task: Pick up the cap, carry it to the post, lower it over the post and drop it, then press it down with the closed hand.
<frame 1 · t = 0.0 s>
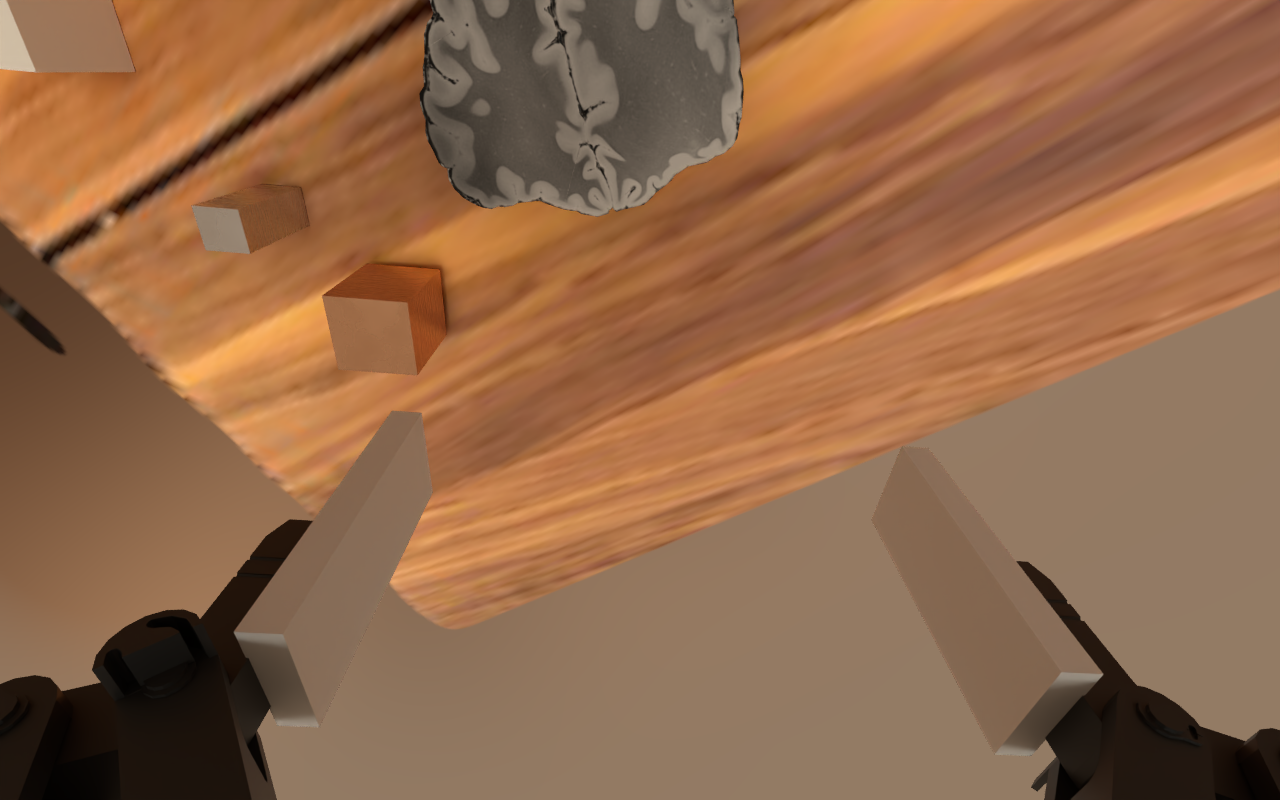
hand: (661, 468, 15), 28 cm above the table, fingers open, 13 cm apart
brain slice: (575, 68, 35), on the table
tan brown block: (412, 295, 42), on the table
cap: (73, 17, 33), on the table
post: (286, 205, 38), on the table
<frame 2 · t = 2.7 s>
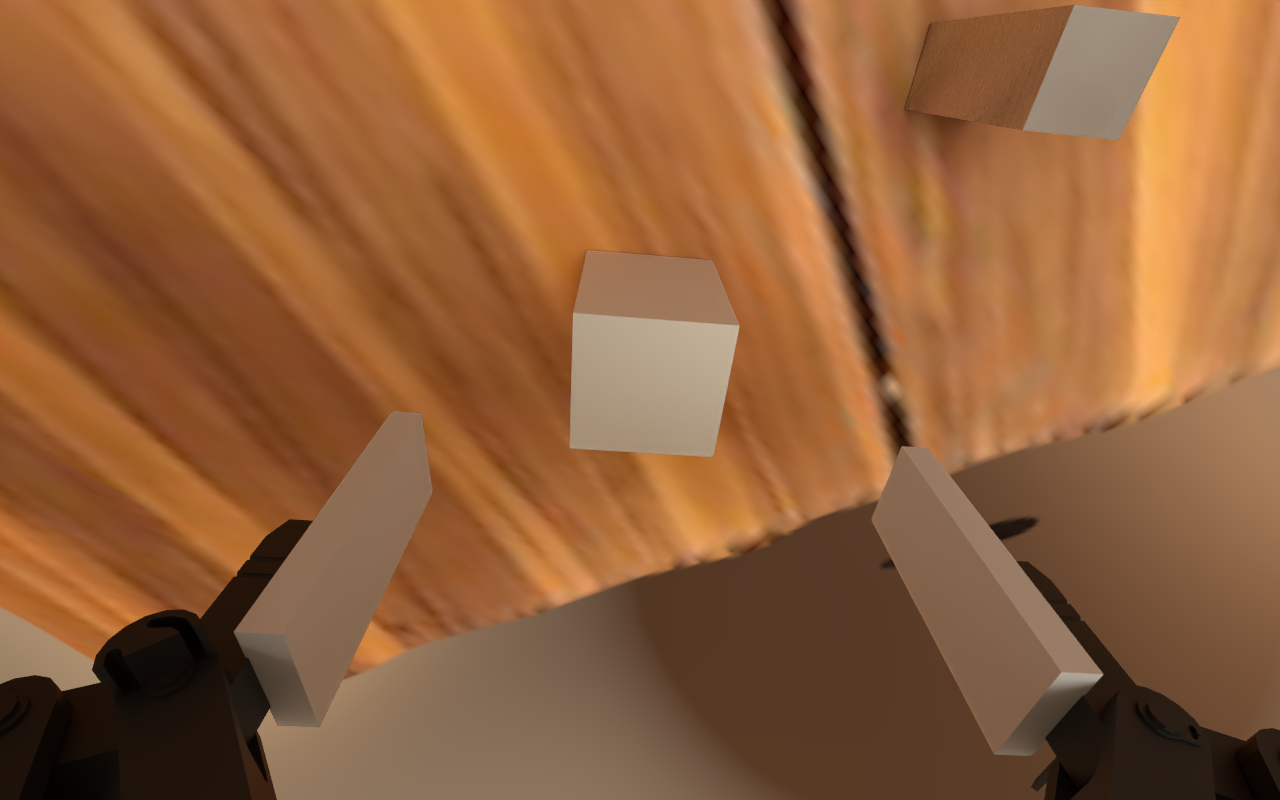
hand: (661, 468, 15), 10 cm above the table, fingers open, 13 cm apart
cap: (644, 313, 24), on the table
post: (952, 71, 19), on the table
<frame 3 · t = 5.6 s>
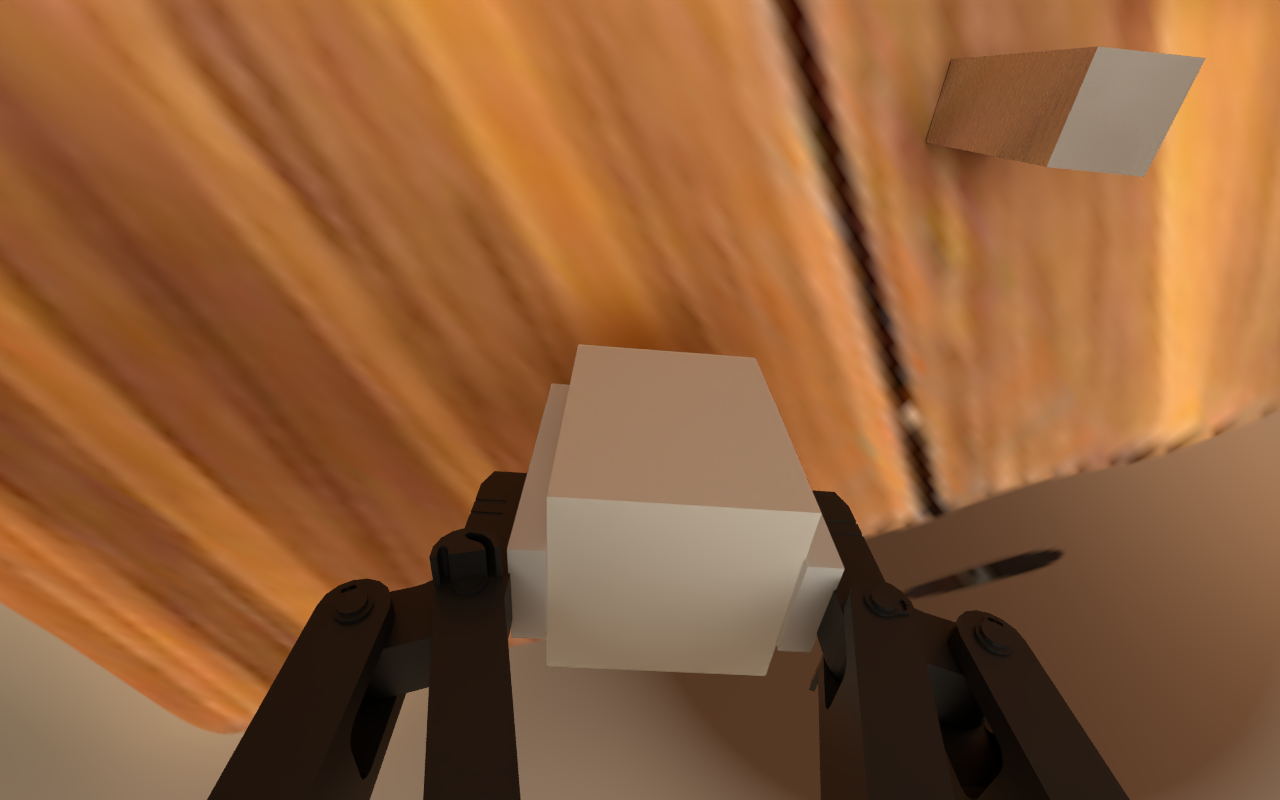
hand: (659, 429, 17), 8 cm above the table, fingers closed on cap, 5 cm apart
cap: (658, 425, 17), point 8 cm above the table, touching gripper
post: (973, 105, 19), on the table
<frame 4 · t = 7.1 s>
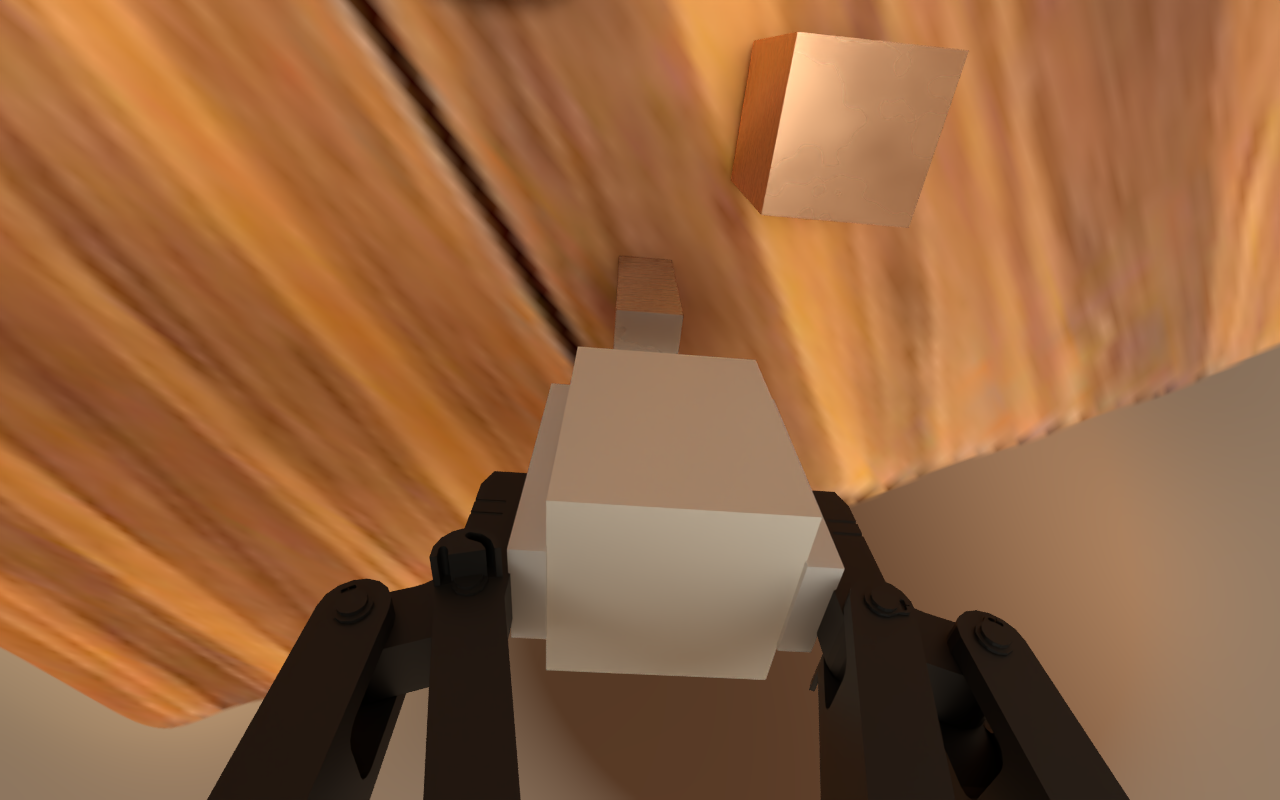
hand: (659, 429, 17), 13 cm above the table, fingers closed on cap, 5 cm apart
tan brown block: (796, 118, 24), on the table
cap: (658, 427, 17), point 13 cm above the table, touching gripper
post: (643, 283, 28), on the table
when the fingers open (2 cm above the table, at t = 9.0 s): cap stays where it is, resting on post.
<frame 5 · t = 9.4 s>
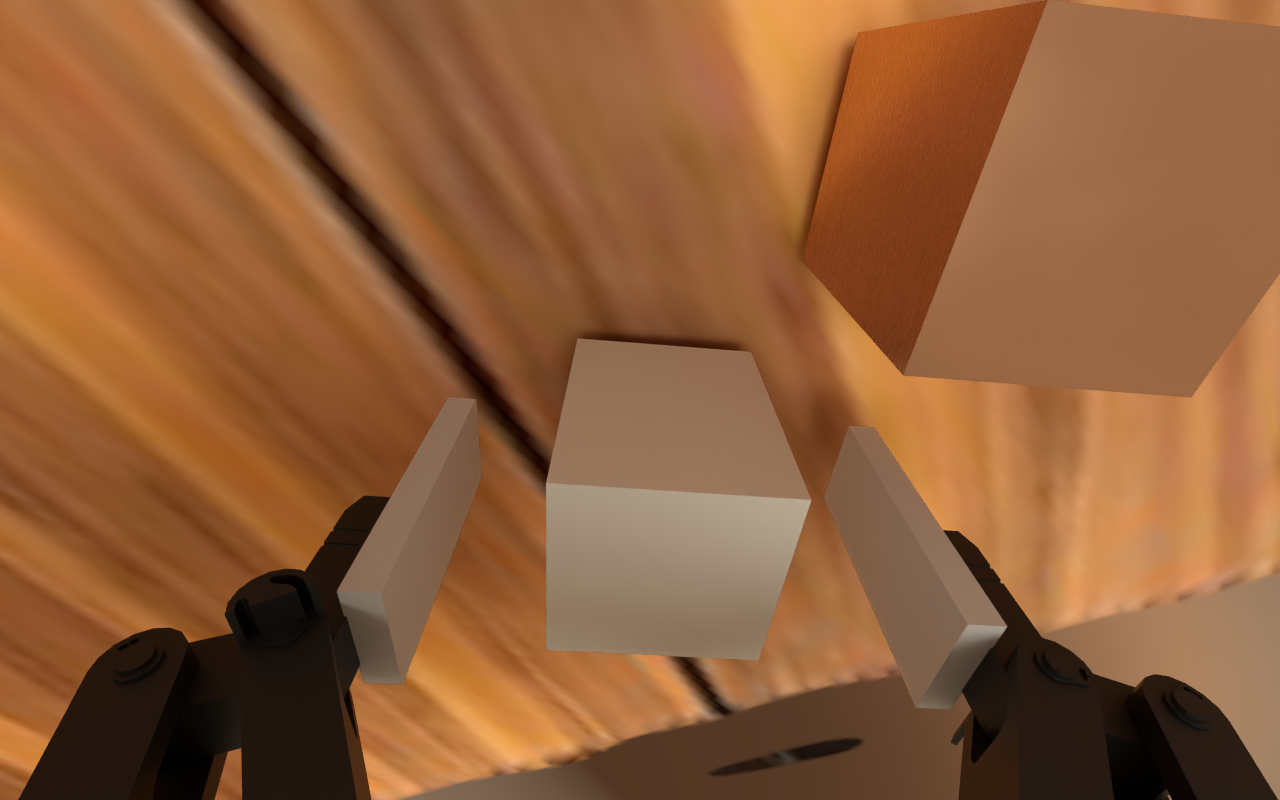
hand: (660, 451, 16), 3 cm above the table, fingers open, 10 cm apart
tan brown block: (911, 161, 15), on the table
cap: (655, 418, 18), point 1 cm above the table, touching post
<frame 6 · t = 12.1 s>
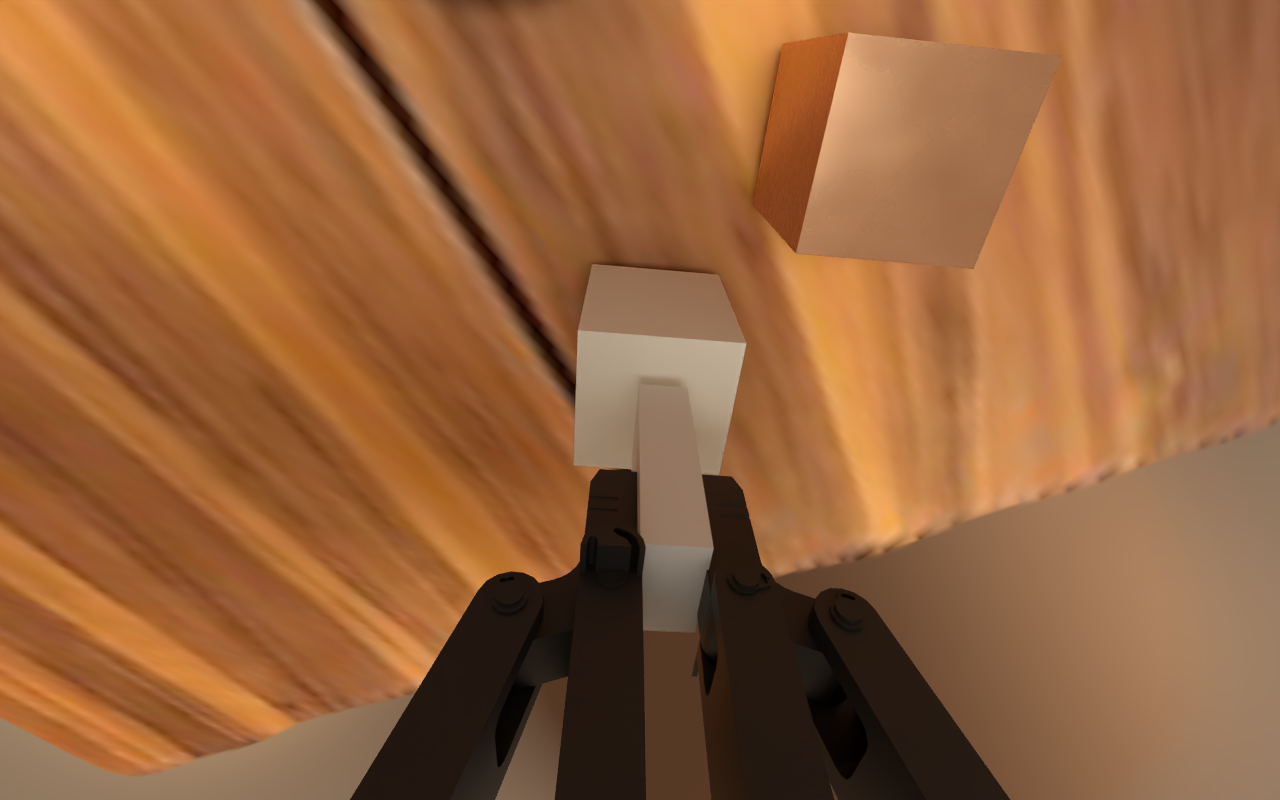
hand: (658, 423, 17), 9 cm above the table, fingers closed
tan brown block: (828, 133, 21), on the table
cap: (649, 327, 24), point 1 cm above the table, touching post
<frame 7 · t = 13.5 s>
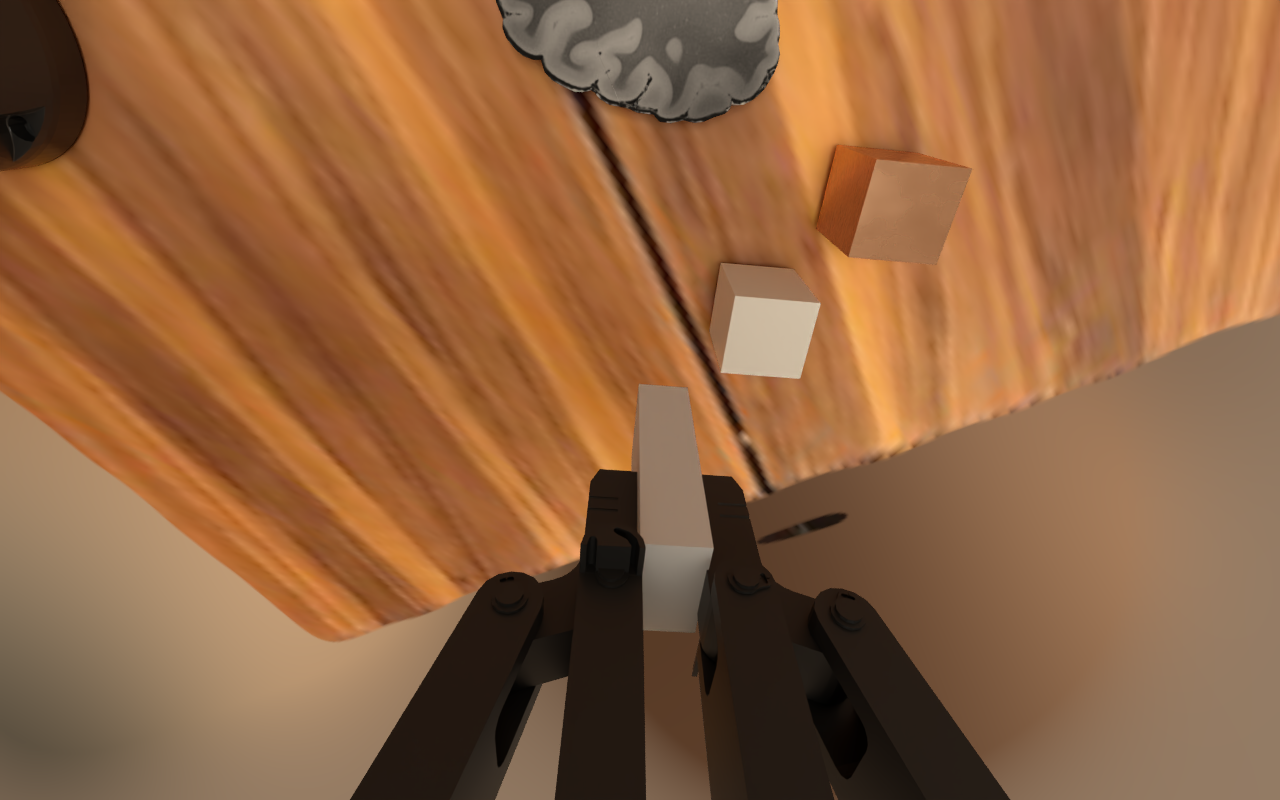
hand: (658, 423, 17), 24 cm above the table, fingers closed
tan brown block: (859, 189, 37), on the table
cap: (750, 300, 40), point 1 cm above the table, touching post
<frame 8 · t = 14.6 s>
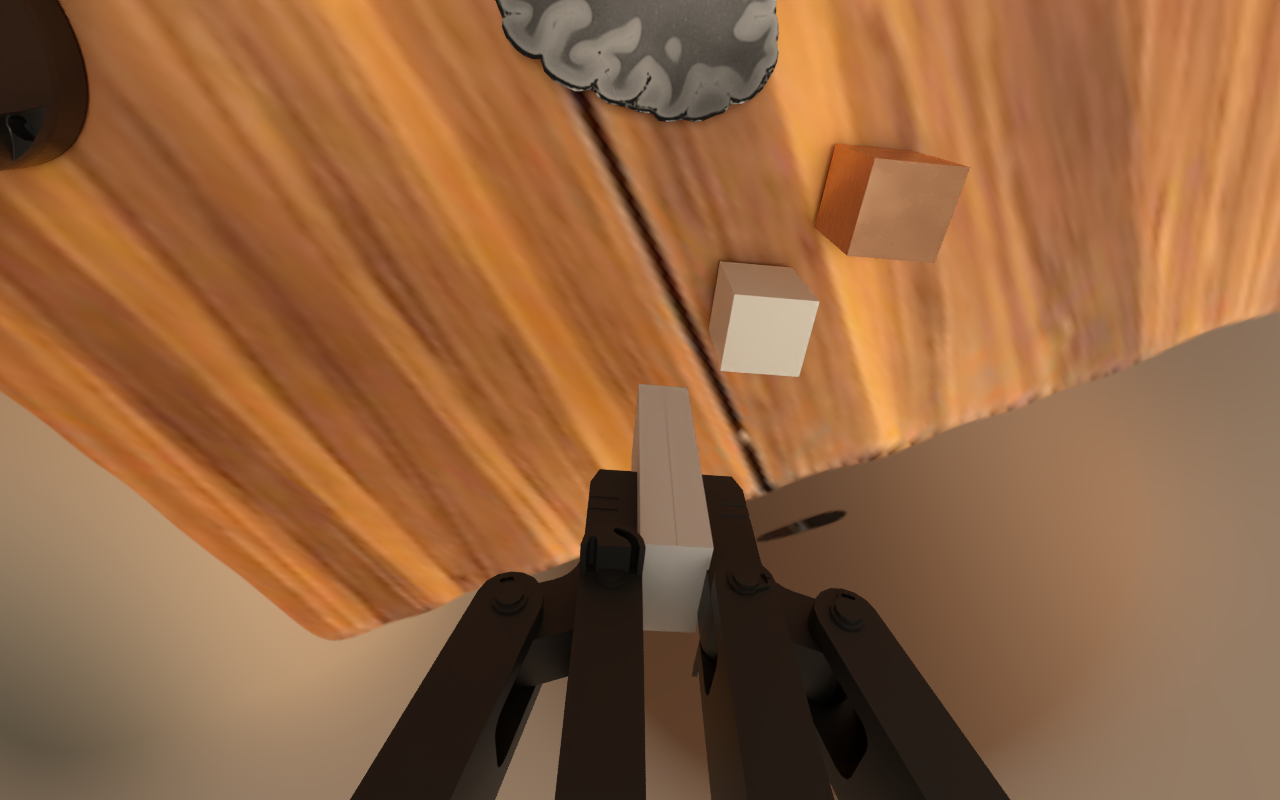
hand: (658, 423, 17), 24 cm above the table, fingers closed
tan brown block: (858, 187, 37), on the table
cap: (749, 299, 40), point 1 cm above the table, touching post
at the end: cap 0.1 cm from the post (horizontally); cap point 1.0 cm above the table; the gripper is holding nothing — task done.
